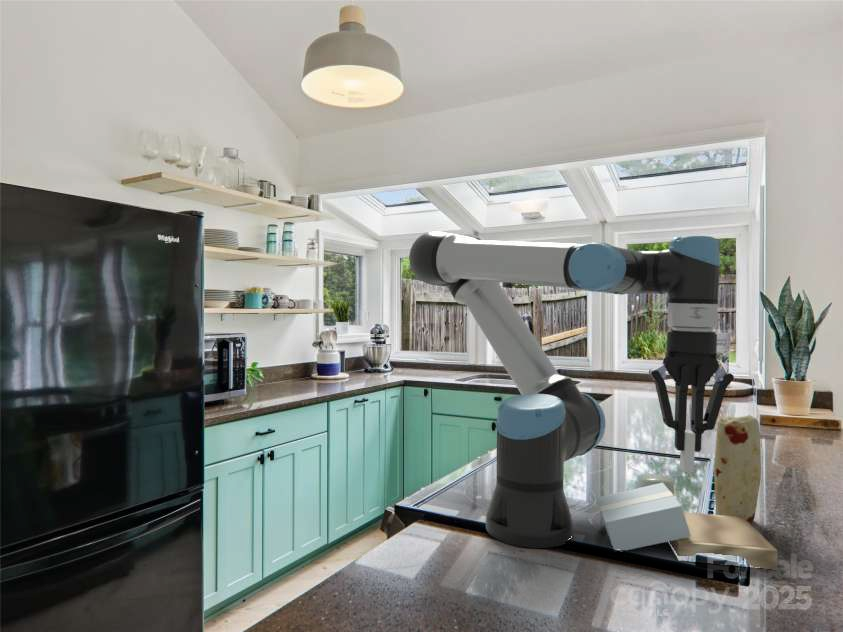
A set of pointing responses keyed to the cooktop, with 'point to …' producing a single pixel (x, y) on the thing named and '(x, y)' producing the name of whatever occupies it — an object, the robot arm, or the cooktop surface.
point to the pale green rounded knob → (656, 481)
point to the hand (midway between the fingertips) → (686, 469)
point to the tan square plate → (726, 539)
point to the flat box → (642, 517)
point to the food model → (737, 467)
